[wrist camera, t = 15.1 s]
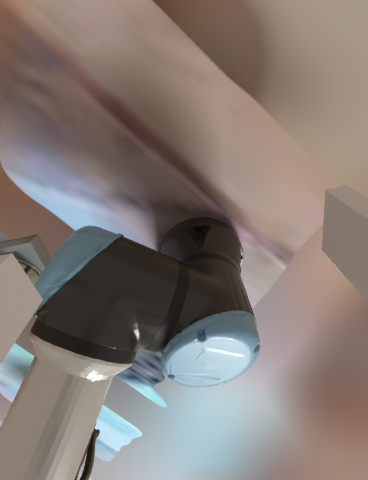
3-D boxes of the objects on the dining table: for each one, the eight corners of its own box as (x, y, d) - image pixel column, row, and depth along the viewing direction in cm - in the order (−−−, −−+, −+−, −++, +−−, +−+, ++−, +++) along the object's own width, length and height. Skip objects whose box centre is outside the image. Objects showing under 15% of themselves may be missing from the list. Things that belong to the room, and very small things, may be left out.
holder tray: (37, 234, 47) (29, 242, 44) (75, 299, 55) (70, 309, 52) (-41, 250, 48) (-53, 259, 46) (6, 311, 56) (-2, 321, 54)
